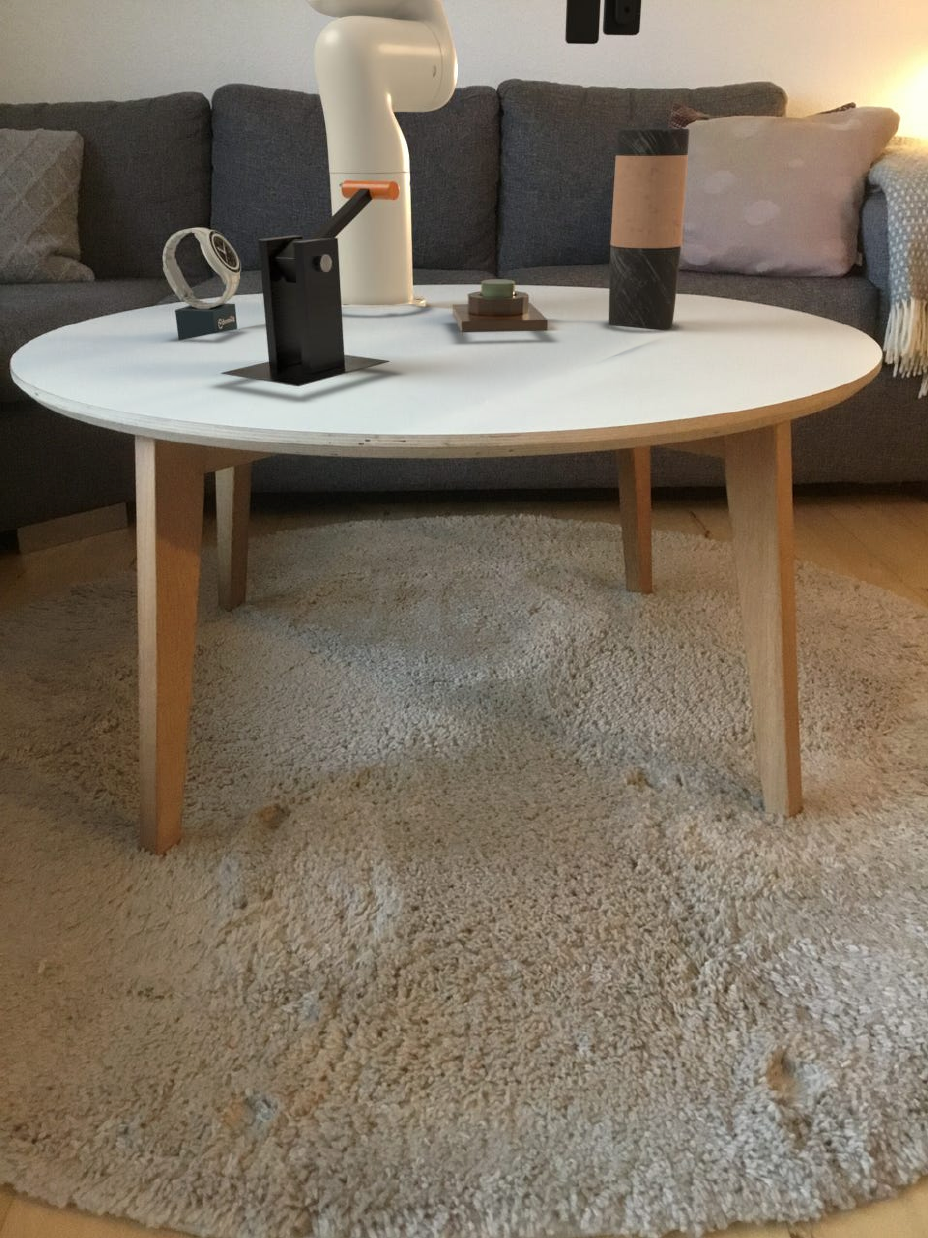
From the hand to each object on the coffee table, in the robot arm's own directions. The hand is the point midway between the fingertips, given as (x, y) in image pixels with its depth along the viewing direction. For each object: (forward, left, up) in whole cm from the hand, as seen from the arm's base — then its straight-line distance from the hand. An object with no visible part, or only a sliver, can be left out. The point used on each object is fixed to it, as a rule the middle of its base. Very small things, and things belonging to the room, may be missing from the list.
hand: (600, 39), depth 92 cm
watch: (-23, -34, -28) cm, 49 cm away
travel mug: (-7, +11, -28) cm, 31 cm away
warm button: (-11, -5, -24) cm, 27 cm away
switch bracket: (+3, -31, -27) cm, 41 cm away
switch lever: (0, -26, -16) cm, 31 cm away
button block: (-11, -5, -27) cm, 30 cm away
